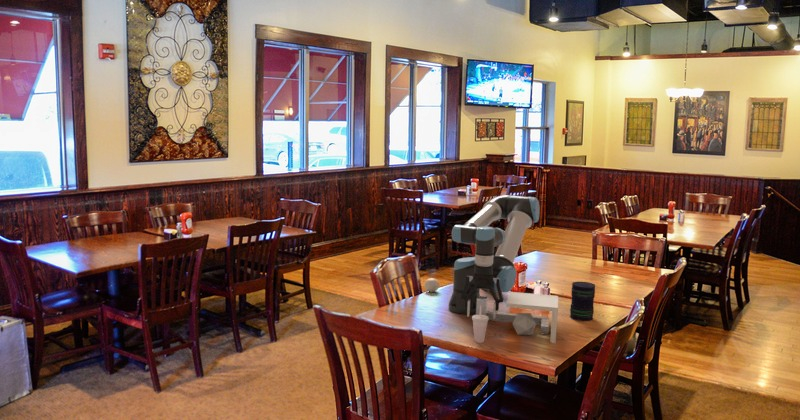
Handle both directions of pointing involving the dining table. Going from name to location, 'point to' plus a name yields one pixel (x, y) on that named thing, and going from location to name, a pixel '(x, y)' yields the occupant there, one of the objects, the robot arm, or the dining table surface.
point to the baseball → (431, 284)
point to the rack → (536, 306)
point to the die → (524, 324)
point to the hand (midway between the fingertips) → (481, 316)
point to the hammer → (508, 315)
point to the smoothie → (479, 327)
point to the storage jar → (582, 301)
